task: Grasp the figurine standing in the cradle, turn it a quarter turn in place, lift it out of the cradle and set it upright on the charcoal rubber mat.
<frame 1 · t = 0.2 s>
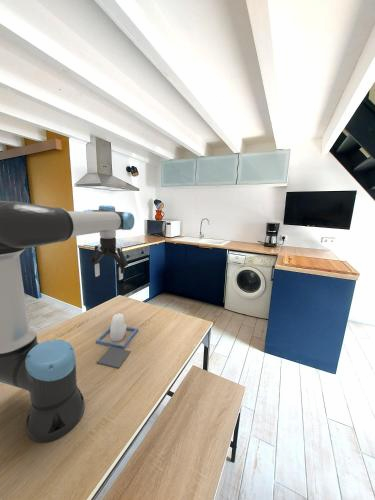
hand: (109, 277, 108), 27 cm above the table, fingers open, 13 cm apart
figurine: (118, 337, 103), resting in cradle
cradle: (118, 337, 103), on the table
mat: (114, 357, 90), on the table
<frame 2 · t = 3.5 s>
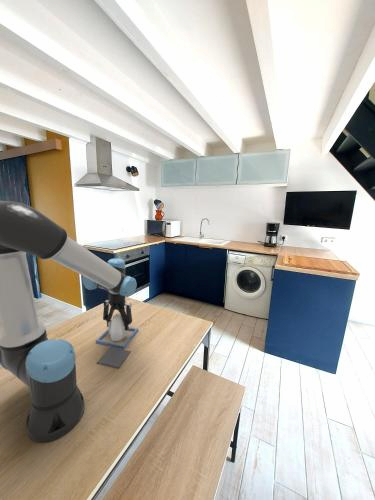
hand: (117, 334, 103), 2 cm above the table, fingers closed on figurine, 7 cm apart
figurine: (118, 337, 103), resting in cradle, touching gripper
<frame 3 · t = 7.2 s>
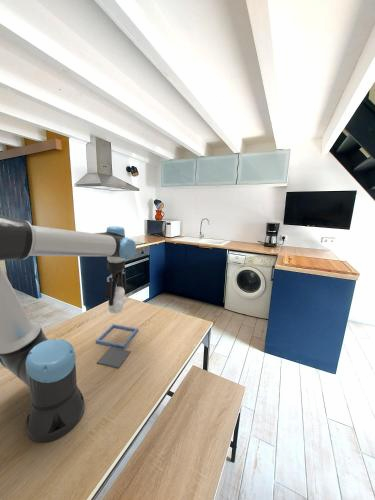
hand: (116, 307, 99), 17 cm above the table, fingers closed on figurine, 7 cm apart
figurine: (116, 310, 99), point 15 cm above the table, touching gripper
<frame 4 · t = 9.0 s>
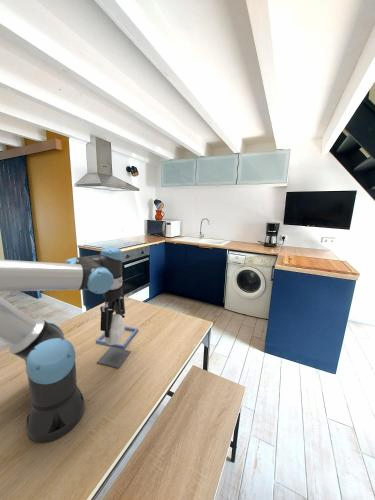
hand: (114, 336, 88), 10 cm above the table, fingers closed on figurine, 7 cm apart
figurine: (114, 340, 88), point 8 cm above the table, touching gripper
when the fingers open (3 cm above the table, at t = 10.8 s): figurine drops 1 cm, resting on mat.
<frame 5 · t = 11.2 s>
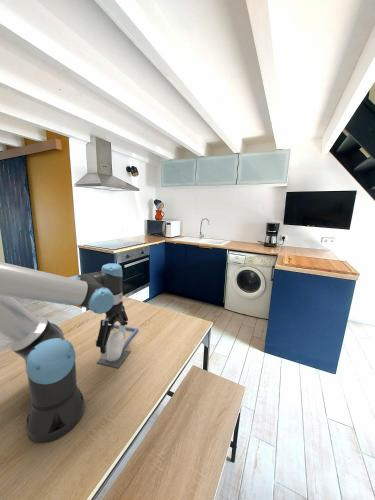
hand: (114, 347, 89), 5 cm above the table, fingers open, 13 cm apart
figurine: (114, 356, 89), resting on mat
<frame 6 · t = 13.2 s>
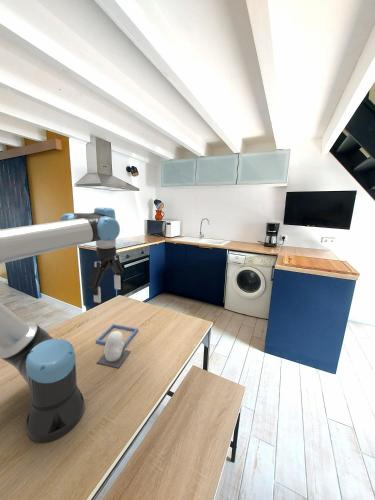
hand: (108, 295, 89), 27 cm above the table, fingers open, 13 cm apart
nothing on the table moved.
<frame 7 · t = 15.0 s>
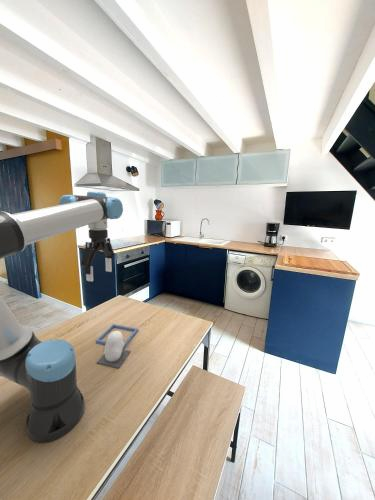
hand: (99, 275, 94), 33 cm above the table, fingers open, 13 cm apart
nothing on the table moved.
at the end: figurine inside the target area on the mat (0.2 cm from its centre), point 0.4 cm above the mat's base; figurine tilted 0°; the gripper is holding nothing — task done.
